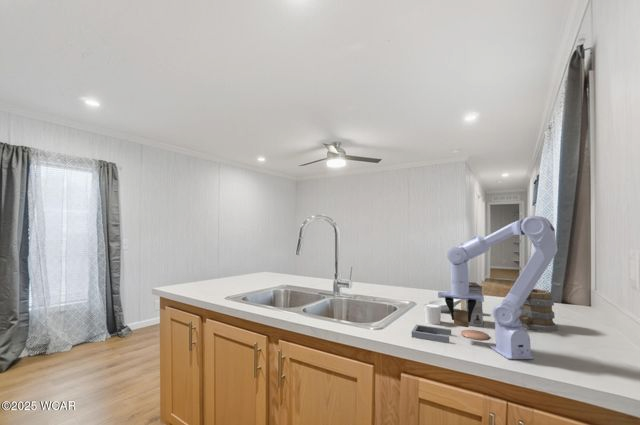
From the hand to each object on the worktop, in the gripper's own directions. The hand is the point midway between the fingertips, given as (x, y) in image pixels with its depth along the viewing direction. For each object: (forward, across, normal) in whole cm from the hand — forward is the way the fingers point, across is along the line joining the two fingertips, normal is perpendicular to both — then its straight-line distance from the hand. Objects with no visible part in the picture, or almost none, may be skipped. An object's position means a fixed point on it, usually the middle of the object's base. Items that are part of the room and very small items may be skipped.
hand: (461, 320), depth 103 cm
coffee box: (+7, -3, -24) cm, 25 cm away
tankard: (+7, -23, -29) cm, 37 cm away
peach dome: (+7, -4, -8) cm, 11 cm away
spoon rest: (+7, +5, -40) cm, 41 cm away
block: (+2, 0, 0) cm, 2 cm away
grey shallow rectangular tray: (+7, +10, 0) cm, 12 cm away
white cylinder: (+7, +12, -17) cm, 22 cm away
